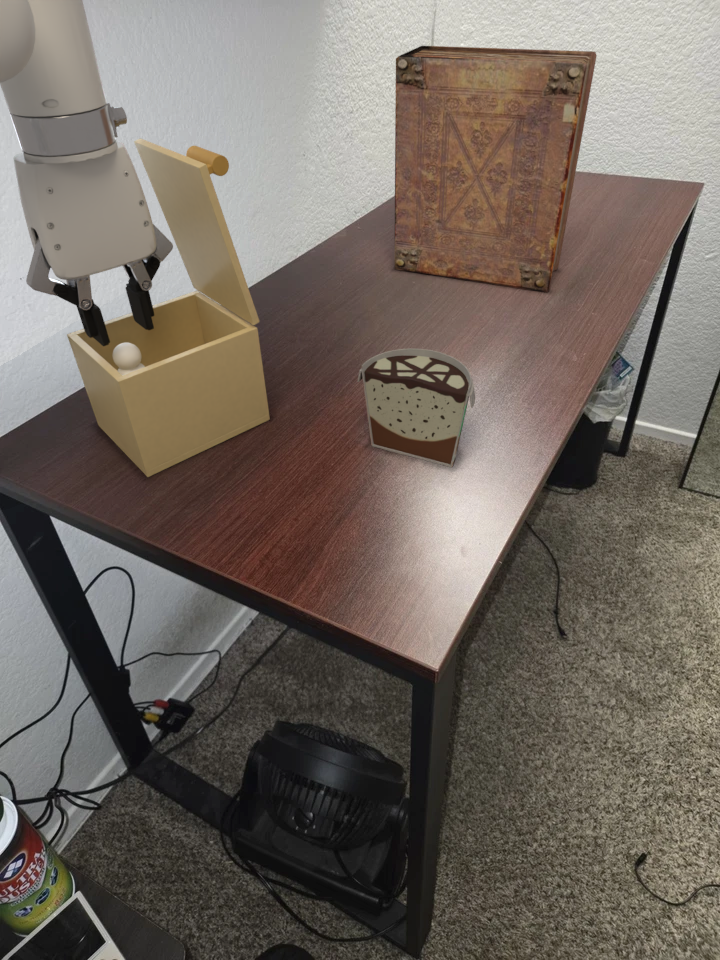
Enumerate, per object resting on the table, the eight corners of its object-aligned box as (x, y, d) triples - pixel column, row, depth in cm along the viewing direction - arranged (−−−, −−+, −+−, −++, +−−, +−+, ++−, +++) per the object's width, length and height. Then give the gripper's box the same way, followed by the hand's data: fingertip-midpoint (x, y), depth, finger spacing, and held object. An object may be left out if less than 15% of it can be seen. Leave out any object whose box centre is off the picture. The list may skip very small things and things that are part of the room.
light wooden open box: (147, 477, 69) (118, 381, 62) (98, 425, 77) (66, 334, 69) (270, 419, 77) (257, 327, 69) (214, 377, 84) (197, 290, 76)
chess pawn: (174, 420, 72) (155, 348, 66) (129, 435, 70) (105, 362, 64) (159, 399, 75) (140, 328, 69) (116, 413, 73) (92, 341, 68)
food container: (483, 438, 73) (492, 359, 66) (465, 471, 69) (474, 390, 62) (381, 413, 77) (381, 336, 71) (359, 442, 73) (356, 364, 66)
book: (559, 269, 107) (599, 51, 87) (548, 293, 100) (588, 63, 81) (412, 249, 115) (418, 45, 95) (393, 269, 108) (395, 55, 89)
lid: (198, 167, 57) (243, 145, 58) (133, 141, 64) (174, 122, 66) (254, 325, 69) (289, 303, 70) (193, 288, 76) (227, 268, 78)
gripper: (139, 109, 61) (179, 296, 72) (-55, 143, 52) (26, 347, 64) (178, 122, 56) (214, 319, 68) (-26, 161, 48) (55, 377, 60)
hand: (122, 331), depth 66 cm, fingers open, 4 cm apart
